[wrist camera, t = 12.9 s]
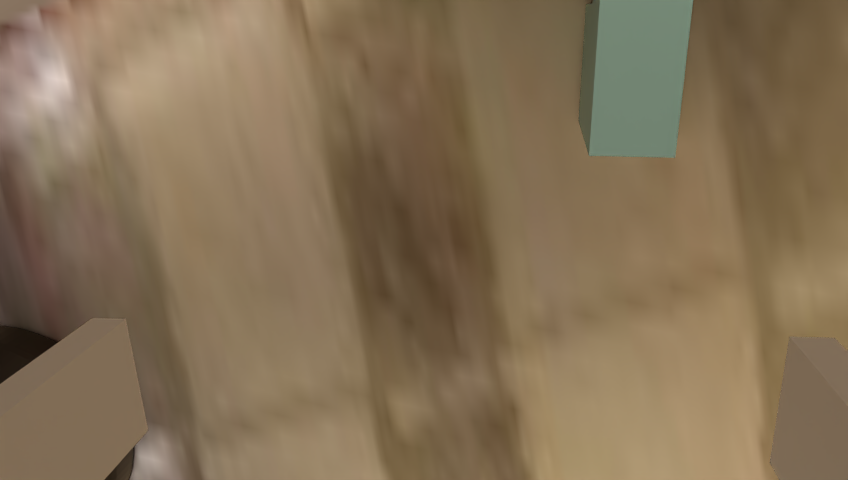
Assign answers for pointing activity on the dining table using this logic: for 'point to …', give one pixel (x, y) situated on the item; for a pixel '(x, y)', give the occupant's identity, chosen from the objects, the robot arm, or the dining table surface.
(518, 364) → the dining table surface
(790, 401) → the robot arm
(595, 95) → the teal green block
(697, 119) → the dining table surface
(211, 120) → the dining table surface
